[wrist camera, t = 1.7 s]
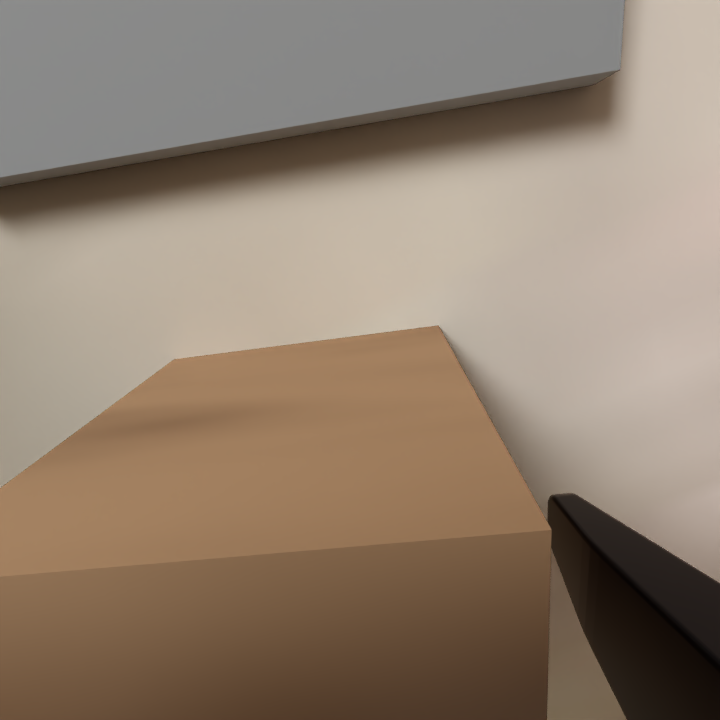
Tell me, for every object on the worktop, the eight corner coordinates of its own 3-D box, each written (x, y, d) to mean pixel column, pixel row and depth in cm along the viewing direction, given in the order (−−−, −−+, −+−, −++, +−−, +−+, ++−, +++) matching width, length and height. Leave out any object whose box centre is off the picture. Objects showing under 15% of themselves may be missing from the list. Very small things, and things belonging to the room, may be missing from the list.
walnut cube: (454, 539, 11) (541, 895, 5) (239, 557, 11) (105, 901, 6) (438, 324, 9) (551, 529, 3) (175, 358, 9) (-136, 589, 4)
